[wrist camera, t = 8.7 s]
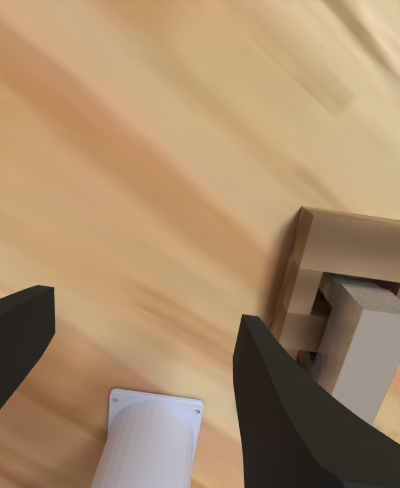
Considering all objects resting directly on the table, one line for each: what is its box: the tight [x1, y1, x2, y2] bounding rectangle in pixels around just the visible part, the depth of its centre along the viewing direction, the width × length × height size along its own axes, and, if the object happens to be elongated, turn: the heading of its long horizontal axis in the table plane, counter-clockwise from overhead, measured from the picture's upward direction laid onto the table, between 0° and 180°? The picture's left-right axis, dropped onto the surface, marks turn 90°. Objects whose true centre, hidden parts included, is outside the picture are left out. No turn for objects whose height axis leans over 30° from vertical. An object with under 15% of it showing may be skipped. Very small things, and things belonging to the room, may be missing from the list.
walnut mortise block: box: [270, 206, 400, 369], centre depth 21 cm, size 16×8×2 cm, turn 172°
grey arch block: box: [298, 272, 400, 426], centre depth 20 cm, size 8×3×6 cm, turn 172°
